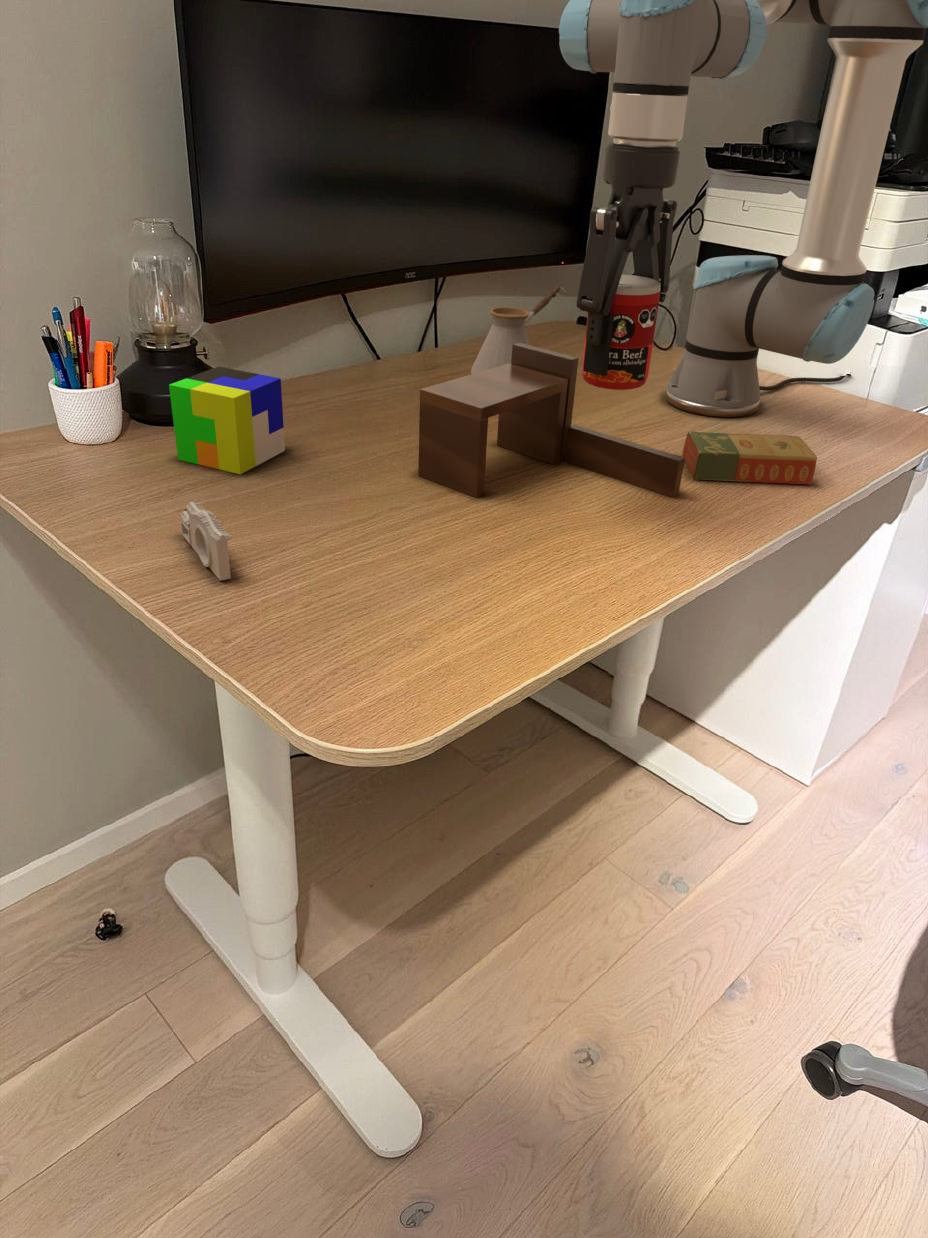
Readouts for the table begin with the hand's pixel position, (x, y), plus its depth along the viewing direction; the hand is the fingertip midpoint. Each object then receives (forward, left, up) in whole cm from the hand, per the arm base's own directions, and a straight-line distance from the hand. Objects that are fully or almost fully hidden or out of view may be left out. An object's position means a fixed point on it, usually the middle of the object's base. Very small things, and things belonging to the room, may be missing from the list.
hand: (615, 365), depth 105 cm
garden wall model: (+43, -22, -18) cm, 51 cm away
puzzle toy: (+22, -44, -18) cm, 52 cm away
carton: (-25, +8, -18) cm, 31 cm away
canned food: (0, 0, -2) cm, 2 cm away
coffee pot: (-34, -38, -18) cm, 54 cm away
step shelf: (-1, -8, -18) cm, 19 cm away
